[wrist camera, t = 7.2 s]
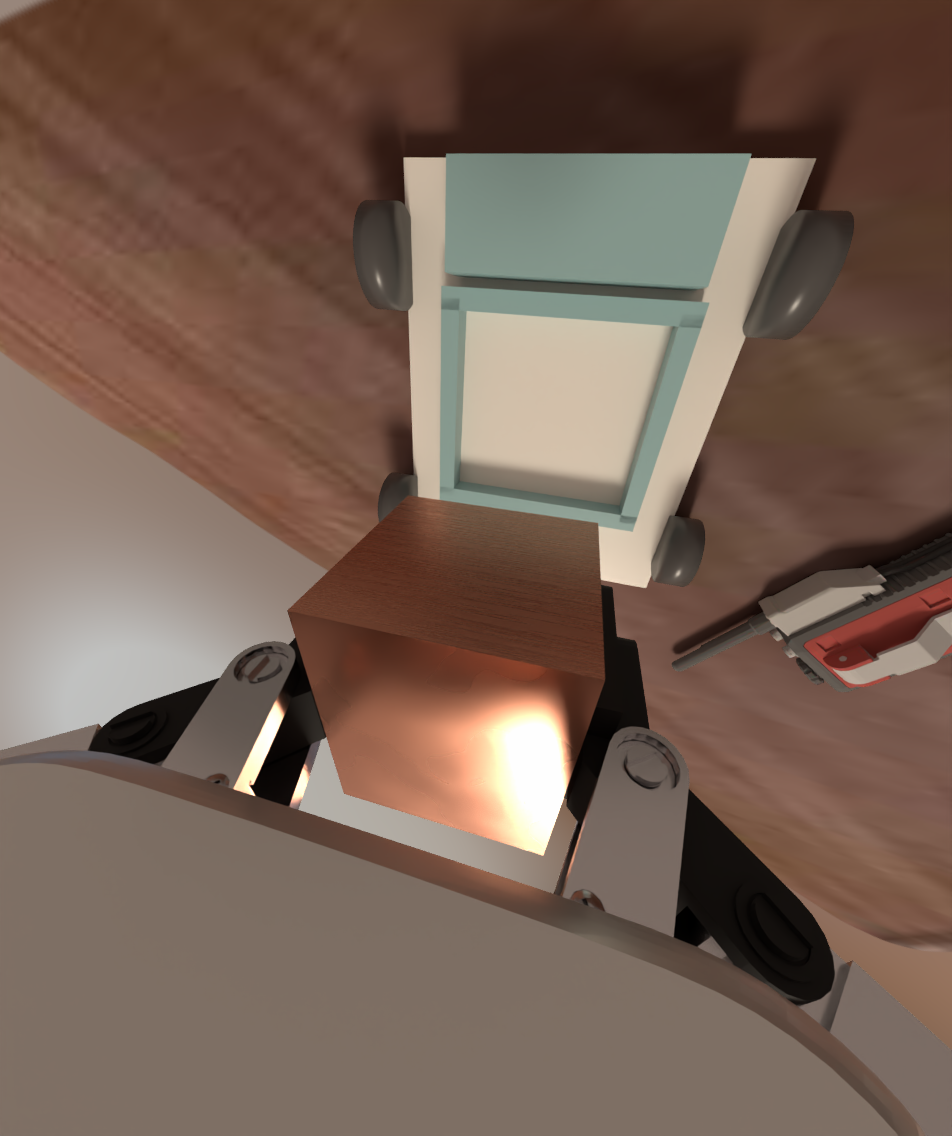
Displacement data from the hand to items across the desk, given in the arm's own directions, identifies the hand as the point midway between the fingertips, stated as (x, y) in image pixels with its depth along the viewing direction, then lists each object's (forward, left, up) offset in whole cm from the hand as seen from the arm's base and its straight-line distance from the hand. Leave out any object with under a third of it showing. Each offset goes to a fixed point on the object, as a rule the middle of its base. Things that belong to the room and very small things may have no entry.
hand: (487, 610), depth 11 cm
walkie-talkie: (-22, +9, -18) cm, 30 cm away
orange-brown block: (0, 0, -1) cm, 1 cm away
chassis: (0, -2, -17) cm, 18 cm away
